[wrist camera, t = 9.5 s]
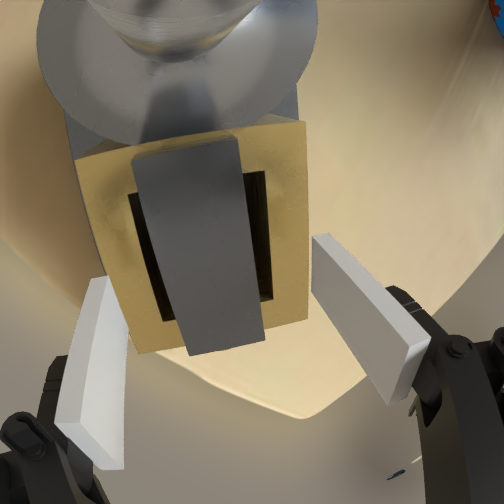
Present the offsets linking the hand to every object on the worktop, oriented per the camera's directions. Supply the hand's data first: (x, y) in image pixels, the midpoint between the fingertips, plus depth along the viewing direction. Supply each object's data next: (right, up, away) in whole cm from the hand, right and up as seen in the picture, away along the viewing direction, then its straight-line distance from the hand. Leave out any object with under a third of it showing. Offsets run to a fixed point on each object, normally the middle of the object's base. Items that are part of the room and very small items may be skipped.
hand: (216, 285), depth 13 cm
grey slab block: (-2, +5, +9) cm, 11 cm away
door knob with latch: (-3, +10, +9) cm, 14 cm away
